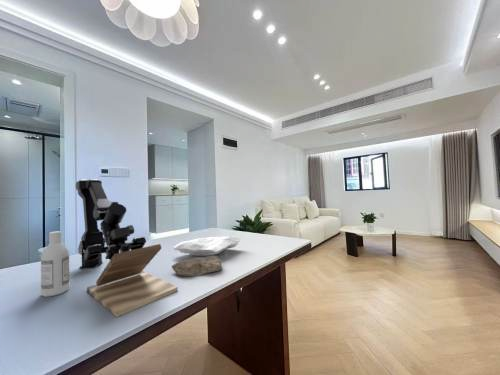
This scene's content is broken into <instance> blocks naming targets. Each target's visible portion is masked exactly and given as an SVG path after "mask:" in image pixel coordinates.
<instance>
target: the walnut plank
mask: <svg viewBox="0 0 500 375" xmlns="http://www.w3.org/2000/svg"><path fill="white" fill-rule="evenodd" d="M161 250H162V245H161V244H160V243H158V244H155V245H154V244H153V245H148V246H143V248H139V249H135V250H131V249H130V250H129V251H126V252H121V253H120V252H119V253H117V254H114V255H113V257H112V258H111V260H110V259H109V262H108V263H107V265H105V268H104V269H103V271H102V272H101V273H100V276H98V278H97V280H96V281H95V283H96V284H97V286H100V285H104V284H107V283H110V282H113V281H117V280H120V279H123V278H126V277H129V276H133V275H136V274H139V273H141V272H142V271H144V269H145V268H146V267H147V266H148V265H149V264H150V262H151V261H152V260H153V259H154V258H155V256H157V254H158V253H159V252H160V251H161ZM96 284H95V285H96Z"/></svg>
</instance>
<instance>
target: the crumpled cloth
mask: <svg viewBox="0 0 500 375" xmlns="http://www.w3.org/2000/svg"><path fill="white" fill-rule="evenodd" d="M240 241H241V238H240V237H236V236H207V237H200V238H195V239H191V240H186V241H181V242H180V243H178V244H175V245H174V246H173V247H172V248H173V250H174V251H178V252H180V253H183V254H188V255H190V256H200V257H207V256H215V255H217V254H219V253H221V252H223V251H225V250H229V249H232V248H235V247H236V246H238V245H239V243H240Z"/></svg>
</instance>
